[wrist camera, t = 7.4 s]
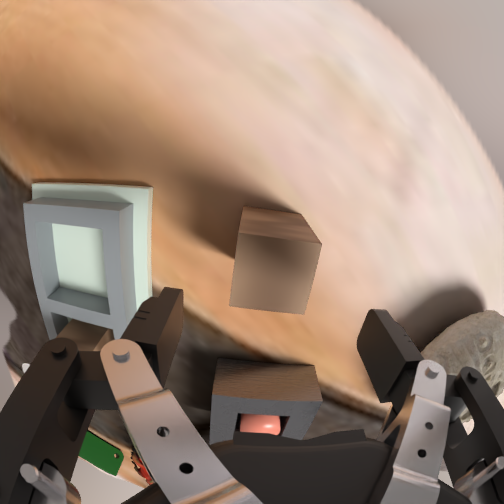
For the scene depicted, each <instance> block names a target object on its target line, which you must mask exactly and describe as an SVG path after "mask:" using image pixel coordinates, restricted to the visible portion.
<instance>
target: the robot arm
mask: <svg viewBox="0 0 504 504" xmlns="http://www.w3.org/2000/svg"><path fill="white" fill-rule="evenodd" d="M182 328H183V290H182V289H176V288H170V287H164V289H163V290H162V292H161V294H160V296H159V297H158V298H157V297H150V298H148V299H147V300H145V301H144V302H142V304H141V305H140V307H139V308H138V311H137V312H136V313H135V315H134V318H132V320H131V321H130V323H129V325H128V326H127V328H126V329H125V331H124V333H123V334H122V336H121V338H120V339H117V340H113V341H110V342H108V343H107V344H105V345H104V346H103V348H102V349H101V351H79V350H78V347H77V345H76V343H75V342H74V341H73V340H71V339H68V338H62V337H61V338H55V339H52V340H50V341H48V342H47V343H46V344H45V345H44V346H43V347H42V349H41V350H40V352H39V353H38V354H37V356H36V357H35V359H34V360H33V362H32V363H31V364H30V366H29V367H28V369H27V370H26V372H25V373H24V375H23V376H22V378H21V379H20V381H19V383H18V384H17V386H16V387H15V389H14V391H13V392H12V394H11V395H10V397H9V399H8V400H7V402H6V404H5V405H4V407H3V409H2V411H1V412H0V504H81V497H80V494H79V492H78V490H77V489H76V488H75V486H74V485H73V484H72V483H70V481H71V478H72V474H73V471H74V468H75V464H76V462H77V459H78V456H79V453H80V450H81V447H82V444H83V441H84V438H85V435H86V433H87V430H88V427H89V424H90V422H91V419H92V417H93V414H94V411H95V409H102V410H118V411H119V414H120V416H121V419H122V421H123V423H124V425H125V428H126V430H127V432H128V434H129V436H130V438H131V441H132V443H133V445H134V447H135V449H136V451H137V453H138V455H139V457H140V459H141V461H142V463H143V465H144V466H145V468H146V470H147V472H148V474H149V475H150V477H151V479H152V480H153V482H154V483H153V484H151V485H150V486H148V487H147V488H145V489H144V490H142V491H141V492H139V493H137V494H136V495H135V496H133V497H131V498H130V499H128V500H126V501H125V502H123V503H121V504H504V409H503V407H502V406H501V404H500V402H499V401H498V399H497V397H496V396H495V394H494V393H493V391H492V390H491V388H490V386H489V385H488V383H487V382H486V380H485V379H484V377H483V376H482V374H481V373H480V372H479V371H478V370H476V369H474V368H472V367H468V366H466V367H463V368H462V369H461V370H460V372H459V373H458V375H457V376H455V375H448V374H446V372H445V370H444V368H443V367H442V366H441V365H440V364H438V363H437V362H435V361H432V360H425V359H424V358H423V356H422V355H421V353H420V352H419V350H418V349H417V347H416V346H415V344H414V343H413V342H412V340H411V339H410V337H409V336H408V334H407V333H406V331H405V330H404V329H403V327H402V326H400V325H399V324H398V323H397V322H395V321H394V320H393V318H392V317H391V315H390V314H389V313H388V311H387V310H379V309H371V310H369V311H368V313H367V316H366V318H365V321H364V323H363V326H362V328H361V331H360V333H359V336H358V339H357V349H358V352H359V354H360V356H361V359H362V361H363V363H364V365H365V368H366V370H367V372H368V375H369V377H370V379H371V382H372V384H373V386H374V389H375V391H376V394H377V396H378V398H379V401H380V403H385V402H392V405H391V407H390V408H389V410H388V412H387V415H386V417H385V420H384V422H383V425H382V427H381V429H380V432H379V434H378V436H377V439H376V440H375V439H371V438H366V436H365V433H364V430H363V429H360V430H351V431H340V432H333V433H330V434H327V435H323V436H320V437H316V438H312V439H309V440H298V439H293V438H288V437H283V436H278V435H274V434H270V433H254V432H240V431H234V434H233V440H226V441H221V442H217V443H214V444H211V445H207V444H206V442H205V441H204V440H203V438H202V437H201V436H200V434H199V433H198V432H197V430H196V429H195V427H194V426H193V424H192V423H191V422H190V420H189V419H188V417H187V416H186V414H185V413H184V411H183V410H182V408H181V407H180V405H179V404H178V402H177V400H176V399H175V397H174V396H173V394H172V393H171V391H170V390H169V389H167V388H166V389H163V388H164V385H165V382H166V379H167V376H168V373H169V370H170V366H171V363H172V360H173V357H174V354H175V351H176V348H177V345H178V343H179V340H180V337H181V333H182ZM466 407H467V408H468V410H469V412H470V414H471V416H472V418H473V420H474V429H473V431H472V432H471V433H470V434H469V435H467V433H466V431H465V429H464V427H463V424H462V422H461V420H460V418H459V416H460V415H461V413H462V412H463V411H464V410H465V409H466ZM443 458H444V461H445V464H446V466H447V469H448V472H449V475H450V478H451V481H452V484H453V487H454V488H452V487H450V486H449V485H447V484H445V483H444V482H442V481H441V480H439V479H438V475H439V471H440V467H441V463H442V459H443Z"/></svg>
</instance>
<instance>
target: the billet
mask: <svg viewBox="0 0 504 504" xmlns="http://www.w3.org/2000/svg"><path fill="white" fill-rule="evenodd" d="M61 337H62V338H68V339H71V340H73V341H74V342H75V343H76V345H77V347H78V350H79V351H101V349H102V348H103V346H104V345H105V344H107V343H108V342H110V341H113V340H115V338H114V333H113V329H110V328H106V327H102V326H98V325H94V324H90V323H87V322H83V321H80V320H76V319H73V318H72V320H71V321H70V322H69V323H68V324H67V325H66V326H65V327H64V329H63V330H62V331H61V332H60V333H59V334H58V336H57V337H56V338H61Z"/></svg>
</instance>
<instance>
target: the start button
mask: <svg viewBox="0 0 504 504" xmlns="http://www.w3.org/2000/svg"><path fill="white" fill-rule="evenodd" d="M240 432H254V433H270V434H274V435H278V434H279V432H280V417H279V416H273V415H256V414H244V413H241V424H240Z"/></svg>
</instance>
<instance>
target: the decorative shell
mask: <svg viewBox="0 0 504 504" xmlns="http://www.w3.org/2000/svg"><path fill="white" fill-rule="evenodd" d="M421 355H422V356H423V358H424V359H425V360H432V361H435V362H437V363H438V364H440V365H441V366H442V367H443V368H444V370H445V372H446V374H448V375H455V376H457V375H458V373H459V372H460V370H461V369H462V368H463V367H466V366H468V367H472V368H474V369H476V370H478V371H479V372H480V373H481V374H482V376H483V377H484V379H485V380H486V382H487V383H488V385H489V386H490V388H491V390H492V391H493V393H494V394H495V396H496V397H498V396H499V395H500V394H501V393H502V392H503V389H504V317H503V316H501V315H500V314H499V313H498V312H496V311H492V310H486V311H484V312H479V313H476V314H471V315H469V316H468V317H466V318H463V319H461V320H458V321H457V322H455V323H454V324H452V325H451V326H449V327H447V328H446V329H445V330H444V331H443V332H442V333H440V335H439V336H438V337H436V338H435V339H434V340H433V341H432V342H431V343H429V344H428V345H427V346H426V347H425V349H424V350H423V351H422V352H421ZM459 418H460V420H461V422H462V423H464V422H469V421H470V419H472V416H471V414H470V412H469V410H468V408H467V407H466V409H465V410H464V411H463V412H462V413H461V415H460V416H459Z"/></svg>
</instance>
